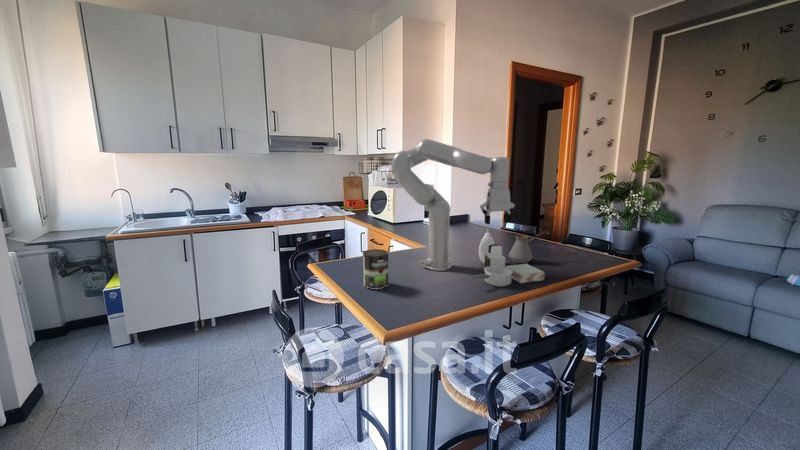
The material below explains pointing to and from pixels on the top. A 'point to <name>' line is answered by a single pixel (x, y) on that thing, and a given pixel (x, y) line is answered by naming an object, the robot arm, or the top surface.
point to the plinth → (526, 273)
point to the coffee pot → (522, 249)
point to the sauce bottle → (485, 246)
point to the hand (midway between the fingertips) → (496, 223)
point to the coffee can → (375, 268)
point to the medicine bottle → (494, 256)
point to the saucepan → (497, 276)
